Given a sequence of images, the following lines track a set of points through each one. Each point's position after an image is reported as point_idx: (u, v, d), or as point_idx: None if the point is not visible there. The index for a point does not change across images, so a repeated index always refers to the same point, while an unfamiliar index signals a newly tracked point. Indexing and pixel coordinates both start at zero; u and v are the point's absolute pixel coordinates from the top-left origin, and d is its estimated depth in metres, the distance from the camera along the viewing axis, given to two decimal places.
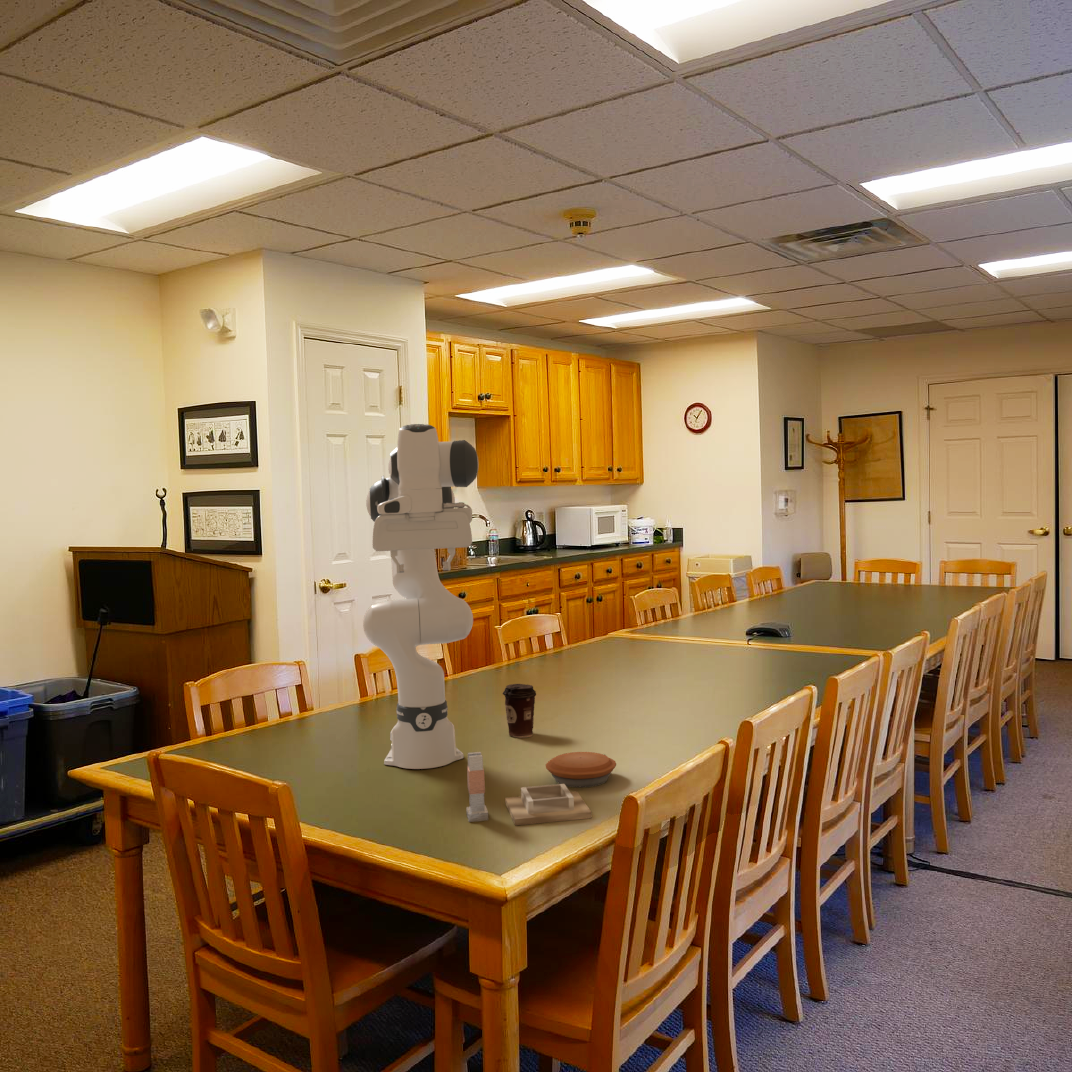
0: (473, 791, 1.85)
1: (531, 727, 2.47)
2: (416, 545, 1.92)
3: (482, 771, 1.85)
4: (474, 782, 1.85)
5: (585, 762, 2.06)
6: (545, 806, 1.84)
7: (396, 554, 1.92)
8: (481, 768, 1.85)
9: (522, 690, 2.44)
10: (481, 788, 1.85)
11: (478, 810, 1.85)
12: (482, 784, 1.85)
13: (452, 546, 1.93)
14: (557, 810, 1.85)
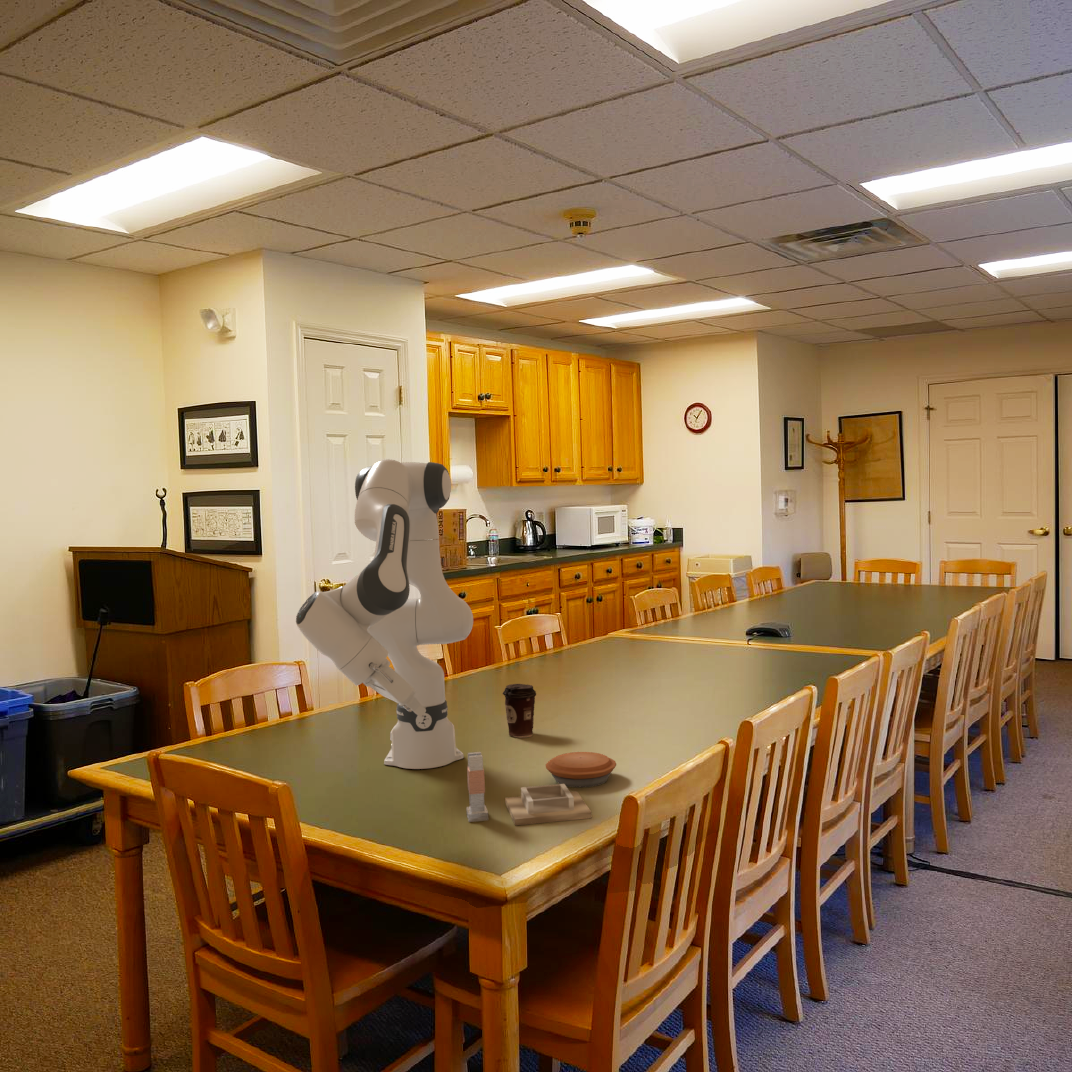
0: (473, 791, 1.85)
1: (531, 727, 2.47)
2: (389, 698, 1.83)
3: (482, 771, 1.85)
4: (474, 782, 1.85)
5: (585, 762, 2.06)
6: (545, 806, 1.84)
7: None
8: (481, 768, 1.85)
9: (522, 690, 2.44)
10: (481, 788, 1.85)
11: (478, 810, 1.85)
12: (482, 784, 1.85)
13: None
14: (557, 810, 1.85)
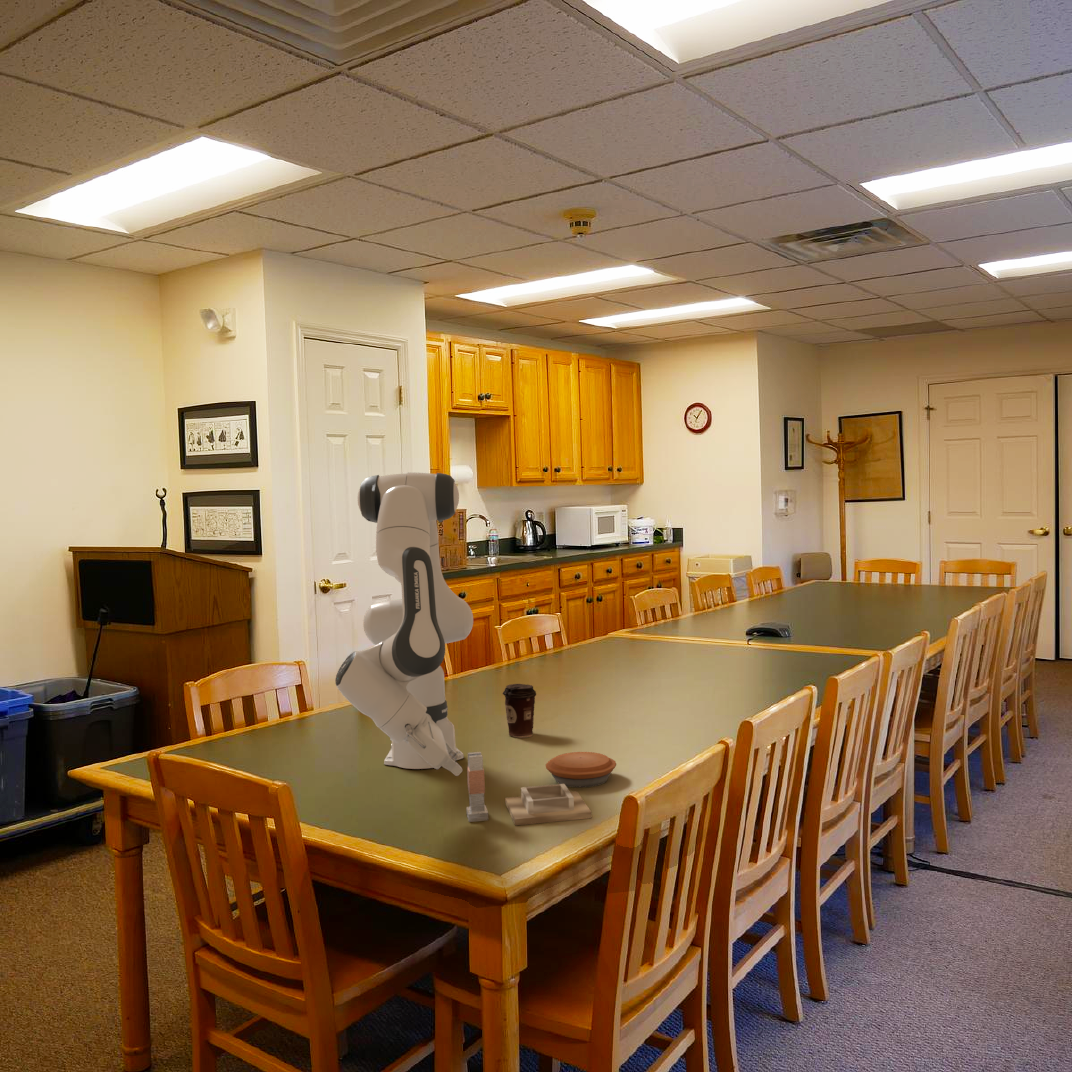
0: (473, 791, 1.85)
1: (531, 727, 2.47)
2: None
3: (482, 771, 1.85)
4: (474, 782, 1.85)
5: (585, 762, 2.06)
6: (545, 806, 1.84)
7: None
8: (481, 768, 1.85)
9: (522, 690, 2.44)
10: (481, 788, 1.85)
11: (478, 810, 1.85)
12: (482, 784, 1.85)
13: None
14: (557, 810, 1.85)
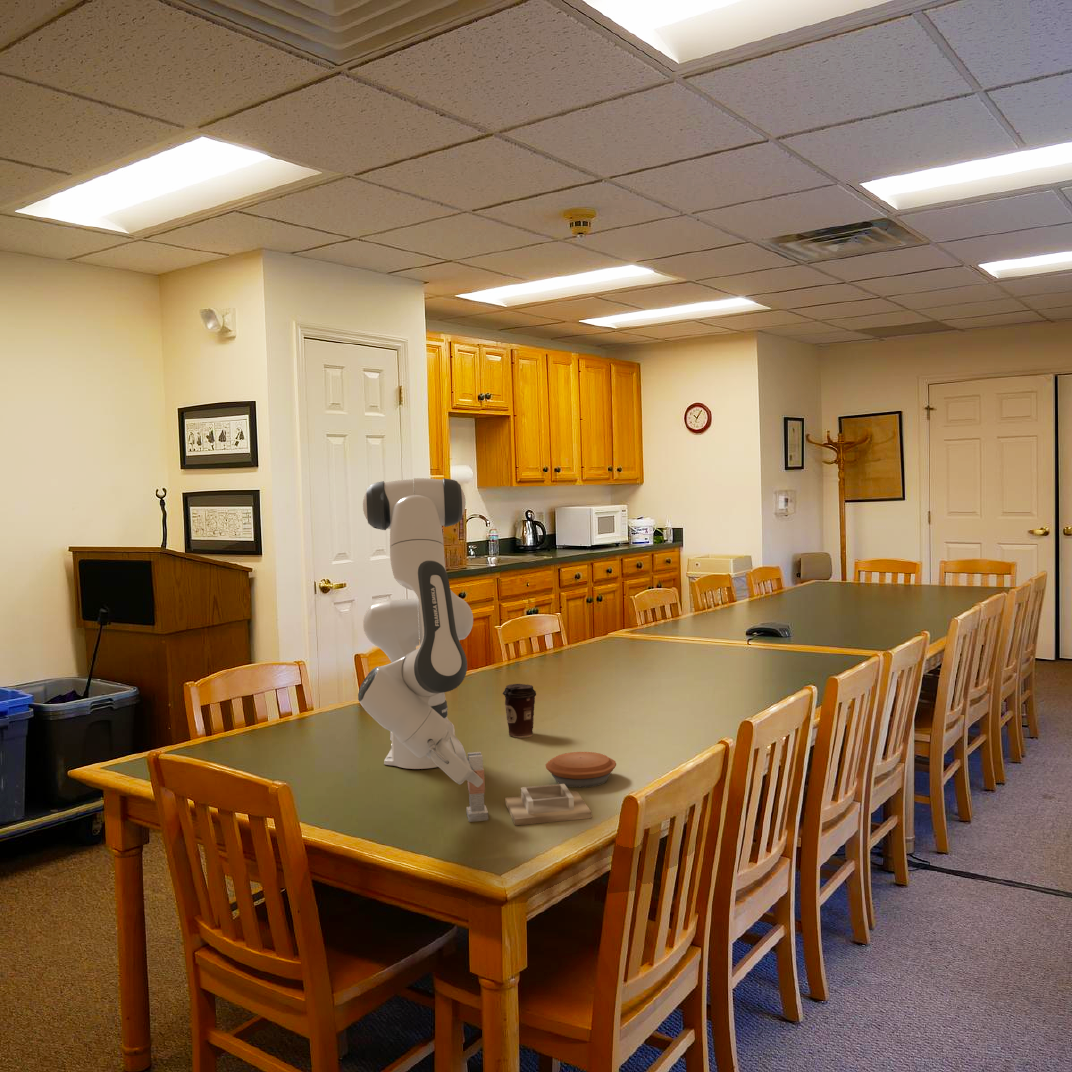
0: (473, 791, 1.85)
1: (531, 727, 2.47)
2: None
3: (482, 771, 1.85)
4: None
5: (585, 762, 2.06)
6: (545, 806, 1.84)
7: None
8: (481, 768, 1.85)
9: (522, 690, 2.44)
10: (481, 788, 1.85)
11: (478, 810, 1.85)
12: (482, 784, 1.85)
13: None
14: (557, 810, 1.85)
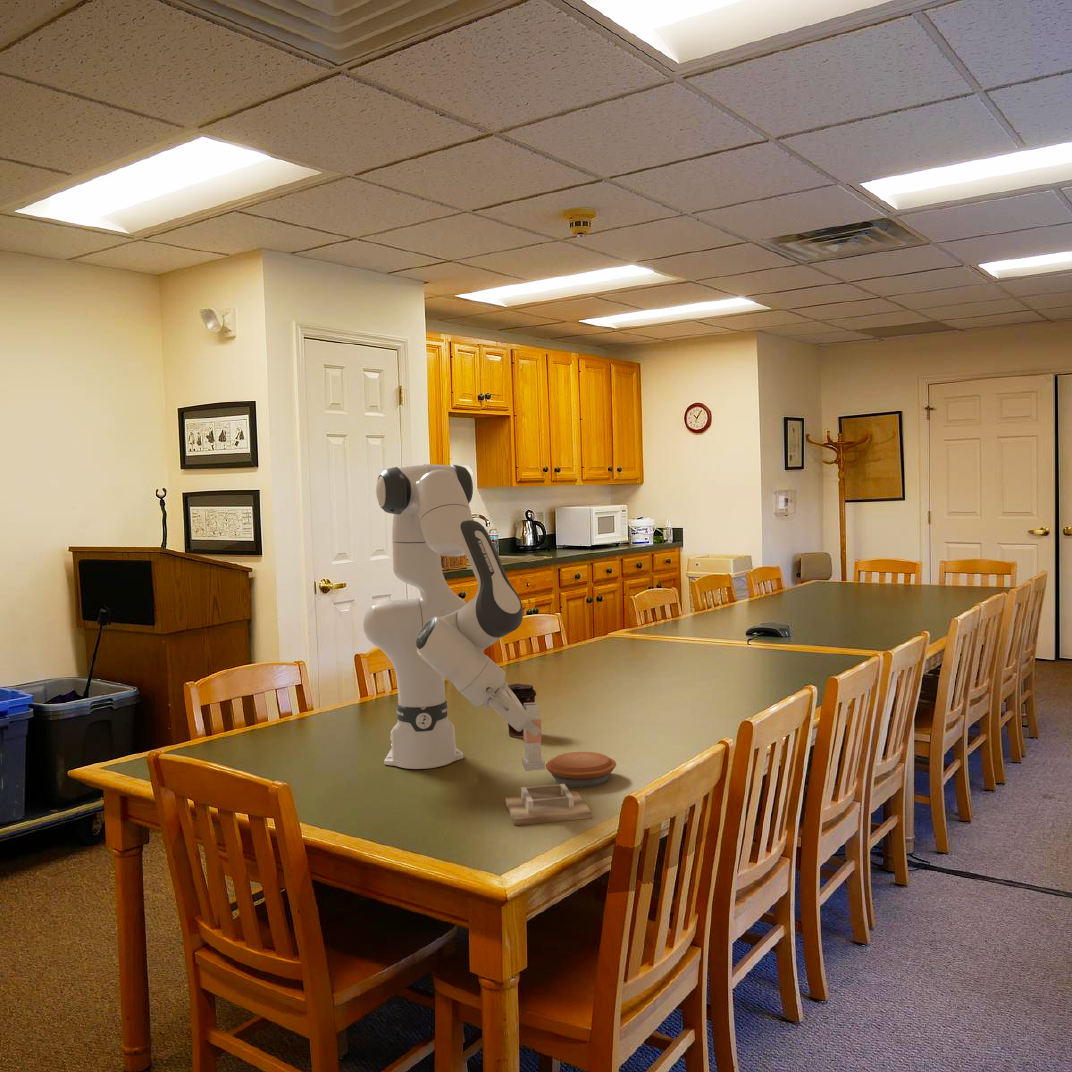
0: (530, 740, 1.86)
1: None
2: None
3: (539, 720, 1.86)
4: None
5: (585, 762, 2.06)
6: (545, 806, 1.84)
7: None
8: (538, 718, 1.86)
9: (522, 690, 2.44)
10: (538, 737, 1.86)
11: (535, 759, 1.86)
12: (539, 733, 1.86)
13: None
14: (557, 810, 1.85)
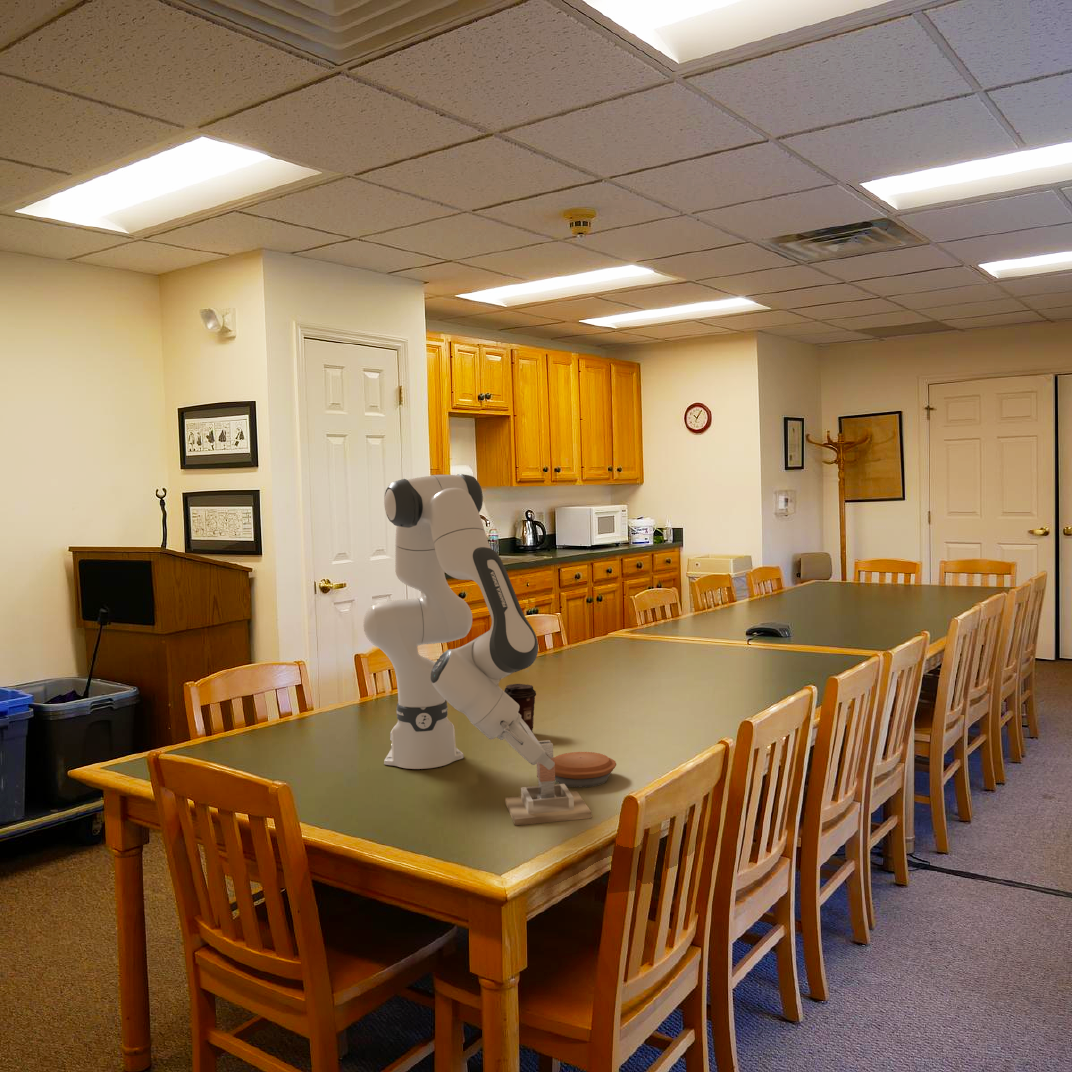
0: (544, 779, 1.87)
1: (531, 727, 2.47)
2: None
3: (552, 759, 1.87)
4: (545, 770, 1.87)
5: (586, 762, 2.06)
6: (545, 806, 1.84)
7: None
8: (551, 756, 1.87)
9: (522, 690, 2.44)
10: (551, 776, 1.87)
11: (548, 797, 1.88)
12: (552, 771, 1.87)
13: None
14: (557, 810, 1.85)
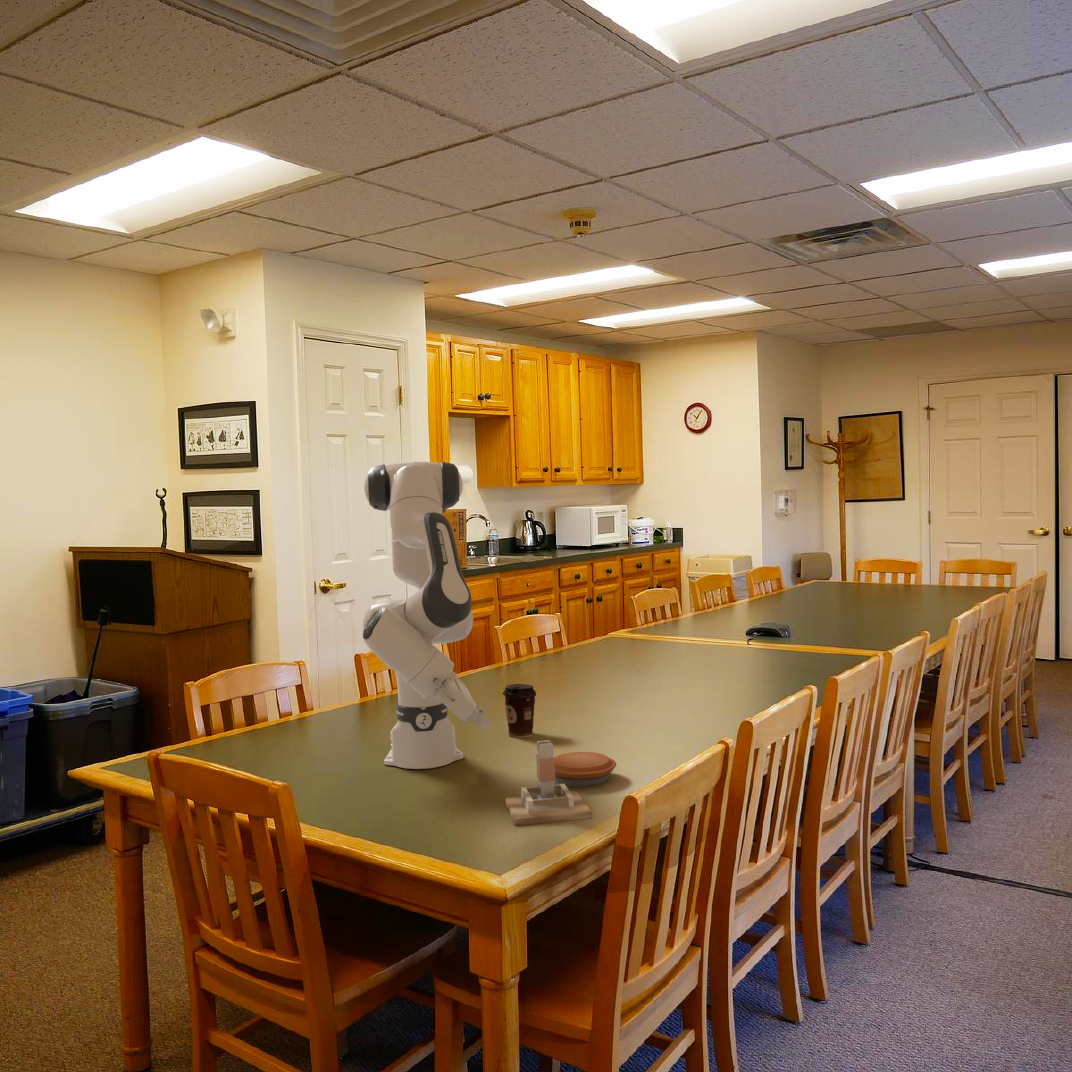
0: (544, 779, 1.87)
1: (531, 727, 2.47)
2: None
3: (552, 759, 1.87)
4: (545, 770, 1.87)
5: (586, 762, 2.06)
6: (545, 806, 1.84)
7: None
8: (551, 756, 1.87)
9: (522, 690, 2.44)
10: (551, 776, 1.87)
11: (548, 797, 1.88)
12: (552, 771, 1.87)
13: None
14: (557, 810, 1.85)
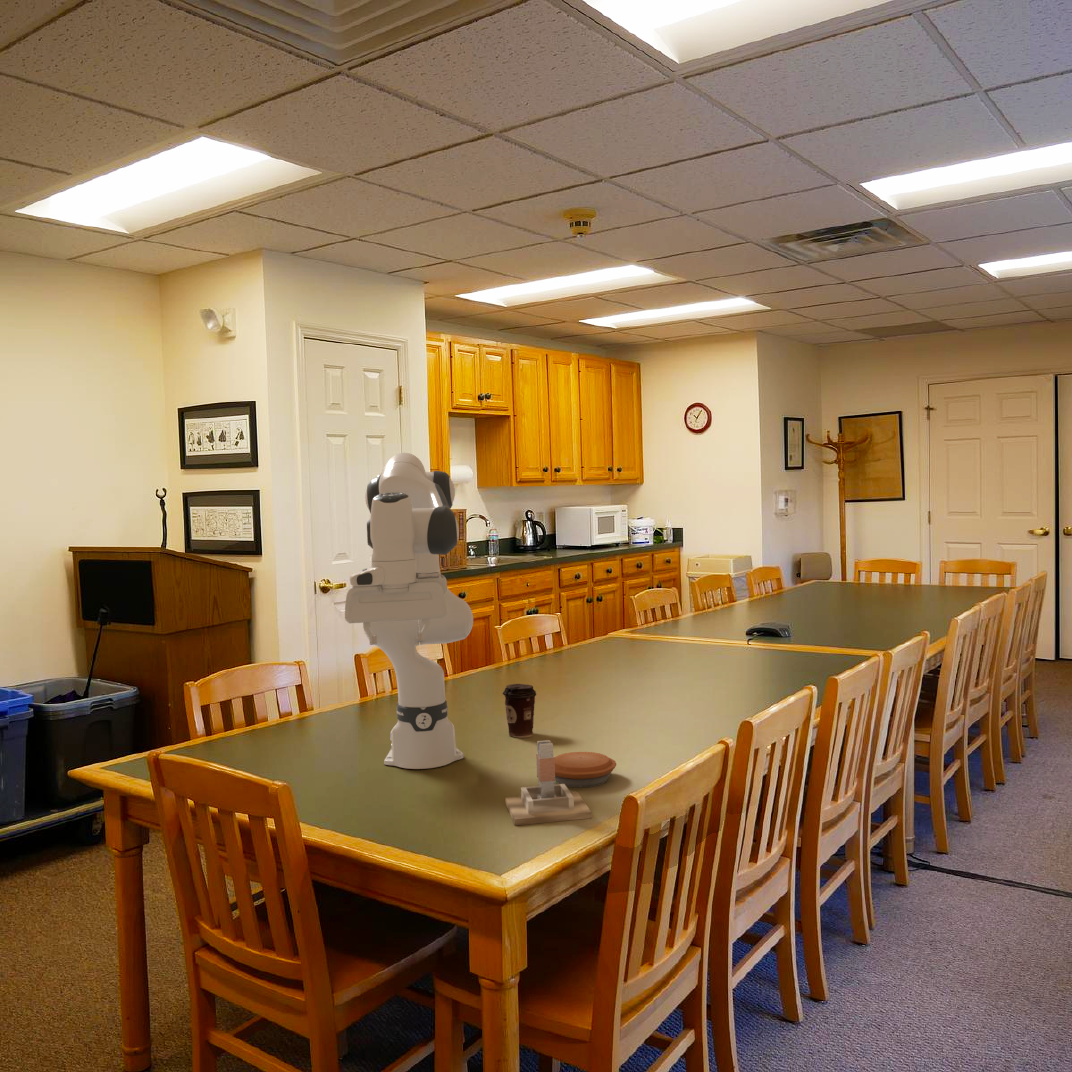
0: (544, 779, 1.87)
1: (531, 727, 2.47)
2: (389, 617, 1.88)
3: (552, 759, 1.87)
4: (545, 770, 1.87)
5: (586, 762, 2.06)
6: (545, 806, 1.84)
7: (369, 626, 1.88)
8: (551, 756, 1.87)
9: (522, 690, 2.44)
10: (551, 776, 1.87)
11: (548, 797, 1.88)
12: (552, 771, 1.87)
13: (426, 617, 1.90)
14: (557, 810, 1.85)
